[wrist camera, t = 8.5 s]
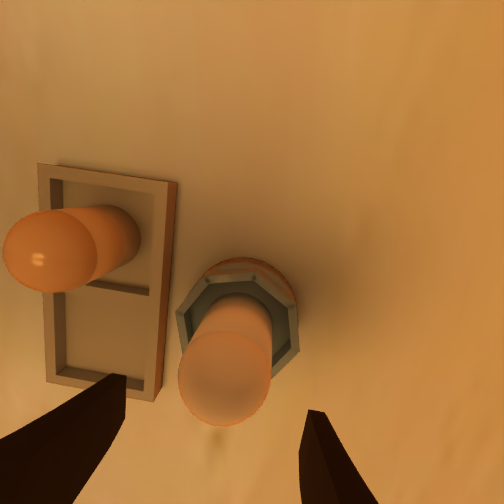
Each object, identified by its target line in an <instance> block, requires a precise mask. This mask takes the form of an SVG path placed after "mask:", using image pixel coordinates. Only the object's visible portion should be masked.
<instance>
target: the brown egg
mask: <svg viewBox="0 0 504 504" xmlns="http://www.w3.org/2000/svg"><path fill="white" fill-rule="evenodd" d="M140 244H141V235H140V231H139V228H138V225H137V223H136V222H135V220H134V219H133V218H132V216H131V215H130V214H129V213H127V212H126V211H125V210H123V209H121V208H119V207H117V206H113V205H99V206H88V207H77V208H66V209H55V210H45V211H40V212H36V213H33V214H30V215H28V216H26V217H24V218H23V219H21V220H20V221H18V222H17V223H16V224H15V225H14V226H13V227H12V228H11V229H10V231H9V232H8V234H7V235H6V238H5V240H4V244H3V259H4V262H5V265H6V267H7V269H8V271H9V272H10V273H11V275H12V276H13V277H14V278H15V279H16V280H17V281H18V282H20V283H21V284H23V285H25V286H27V287H28V288H31V289H33V290H37V291H41V292H47V293H61V292H67V291H71V290H74V289H76V288H79V287H81V286H83V285H85V284H87V283H89V282H91V281H93V280H95V279H97V278H99V277H101V276H103V275H105V274H107V273H109V272H111V271H113V270H115V269H117V268H119V267H121V266H123V265H125V264H127V263H129V262H130V261H132V260H133V259H134V258H135V256H136V255H137V253H138V251H139V249H140Z"/></svg>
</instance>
